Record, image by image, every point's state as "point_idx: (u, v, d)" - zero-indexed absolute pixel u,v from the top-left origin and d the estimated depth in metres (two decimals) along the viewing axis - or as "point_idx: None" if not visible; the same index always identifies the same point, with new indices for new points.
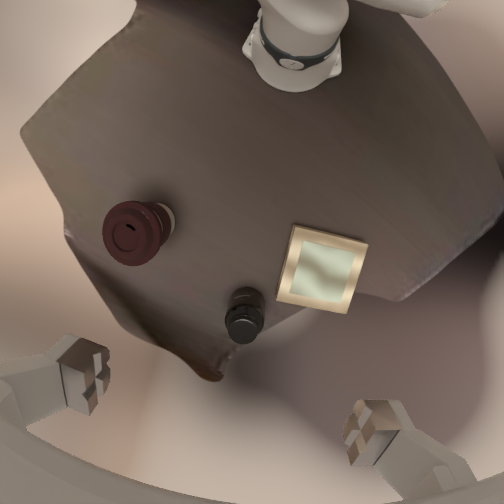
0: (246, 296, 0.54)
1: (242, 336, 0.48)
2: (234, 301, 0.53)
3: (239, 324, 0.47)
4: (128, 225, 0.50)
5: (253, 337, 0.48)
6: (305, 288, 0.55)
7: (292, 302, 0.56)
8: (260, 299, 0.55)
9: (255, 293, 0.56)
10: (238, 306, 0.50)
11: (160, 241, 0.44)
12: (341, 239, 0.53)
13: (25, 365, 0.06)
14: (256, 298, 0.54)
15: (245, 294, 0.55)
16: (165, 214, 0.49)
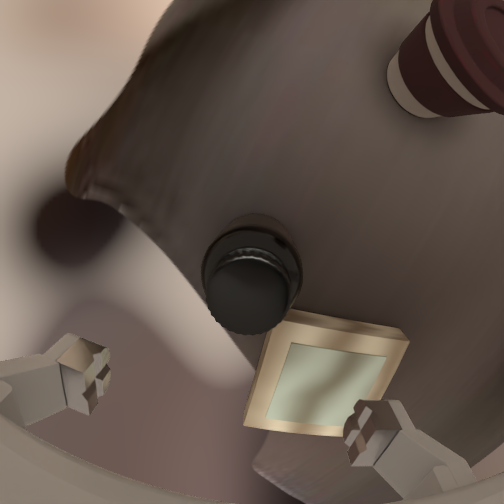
0: None
1: (233, 296, 0.16)
2: (293, 243, 0.22)
3: (274, 288, 0.16)
4: None
5: (231, 325, 0.17)
6: (299, 368, 0.27)
7: (269, 348, 0.27)
8: None
9: None
10: (300, 266, 0.19)
11: (494, 105, 0.12)
12: None
13: (25, 365, 0.06)
14: None
15: None
16: None
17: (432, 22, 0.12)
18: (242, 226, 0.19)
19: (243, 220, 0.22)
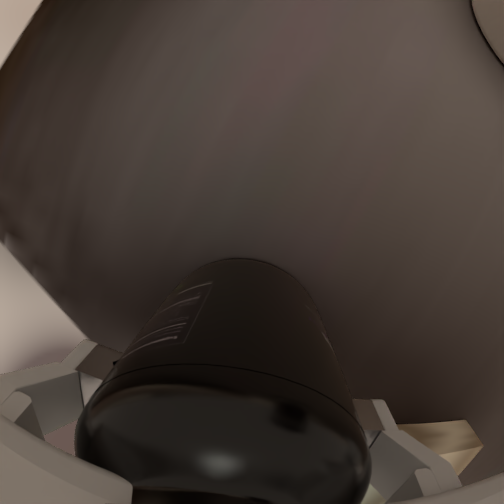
0: None
1: None
2: (341, 375, 0.07)
3: None
4: None
5: None
6: None
7: None
8: None
9: None
10: (369, 479, 0.04)
11: None
12: None
13: (43, 374, 0.06)
14: None
15: None
16: None
17: None
18: (168, 379, 0.04)
19: (195, 306, 0.07)
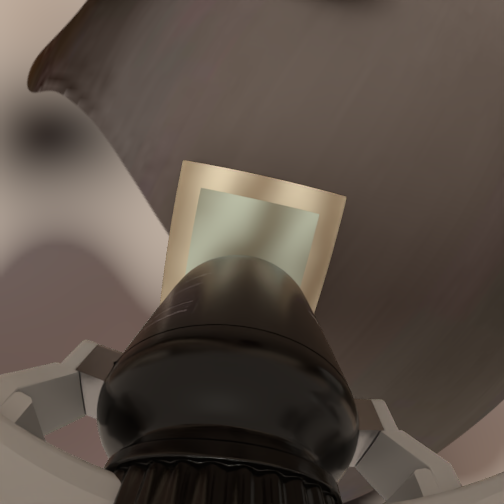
0: None
1: None
2: (326, 342, 0.08)
3: None
4: None
5: None
6: (212, 222, 0.25)
7: (178, 196, 0.25)
8: None
9: None
10: (356, 428, 0.06)
11: None
12: (317, 292, 0.27)
13: (43, 375, 0.06)
14: None
15: None
16: None
17: None
18: (182, 336, 0.06)
19: (199, 289, 0.09)
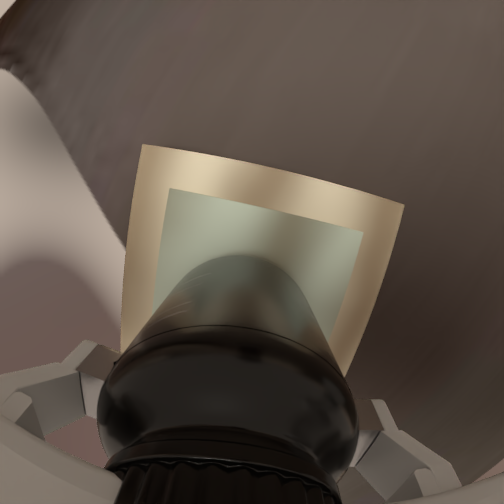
0: None
1: None
2: (326, 343, 0.08)
3: None
4: None
5: None
6: (188, 245, 0.15)
7: (136, 202, 0.15)
8: None
9: None
10: (356, 428, 0.06)
11: None
12: (352, 348, 0.17)
13: (43, 375, 0.06)
14: None
15: None
16: None
17: None
18: (182, 337, 0.06)
19: (199, 290, 0.09)
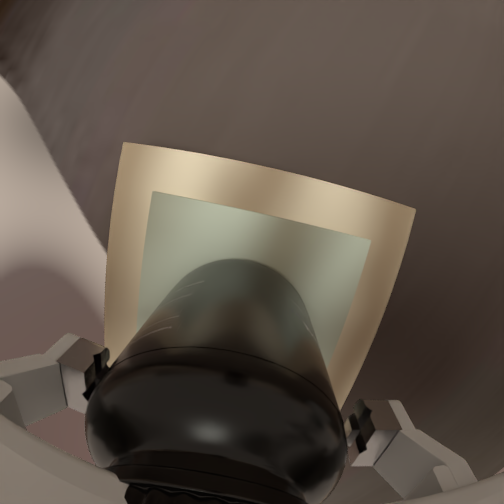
0: None
1: None
2: (318, 359, 0.08)
3: None
4: None
5: None
6: (174, 255, 0.13)
7: (116, 207, 0.13)
8: None
9: None
10: (343, 452, 0.05)
11: None
12: (357, 366, 0.15)
13: (25, 365, 0.06)
14: None
15: None
16: None
17: None
18: (162, 359, 0.05)
19: (188, 301, 0.08)
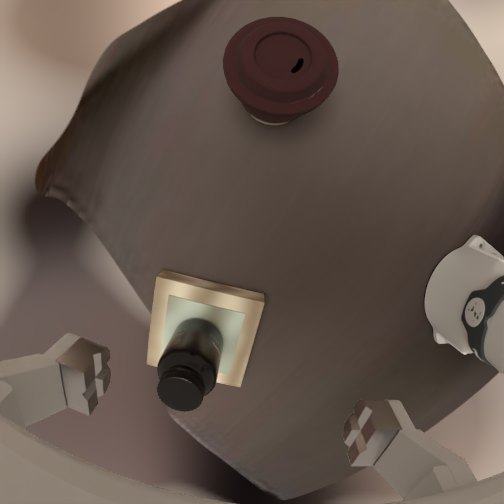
0: (220, 361, 0.34)
1: (171, 394, 0.27)
2: (212, 351, 0.33)
3: (192, 392, 0.27)
4: None
5: (172, 406, 0.28)
6: (177, 316, 0.38)
7: (155, 298, 0.38)
8: None
9: None
10: (213, 372, 0.30)
11: (266, 113, 0.23)
12: (246, 358, 0.40)
13: (25, 365, 0.06)
14: None
15: (220, 355, 0.35)
16: (295, 117, 0.29)
17: None
18: (177, 349, 0.30)
19: (182, 336, 0.33)
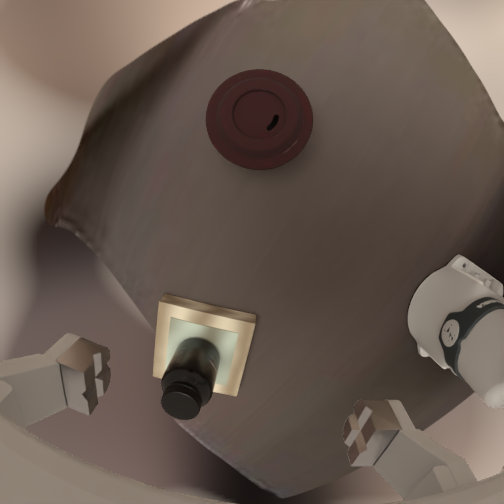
0: (216, 375, 0.38)
1: (173, 405, 0.32)
2: (209, 368, 0.37)
3: (190, 404, 0.32)
4: None
5: (174, 415, 0.32)
6: (178, 335, 0.43)
7: (158, 320, 0.42)
8: None
9: None
10: (208, 386, 0.35)
11: None
12: (241, 371, 0.44)
13: (25, 365, 0.06)
14: None
15: (216, 371, 0.39)
16: None
17: None
18: (178, 367, 0.35)
19: (182, 355, 0.38)
